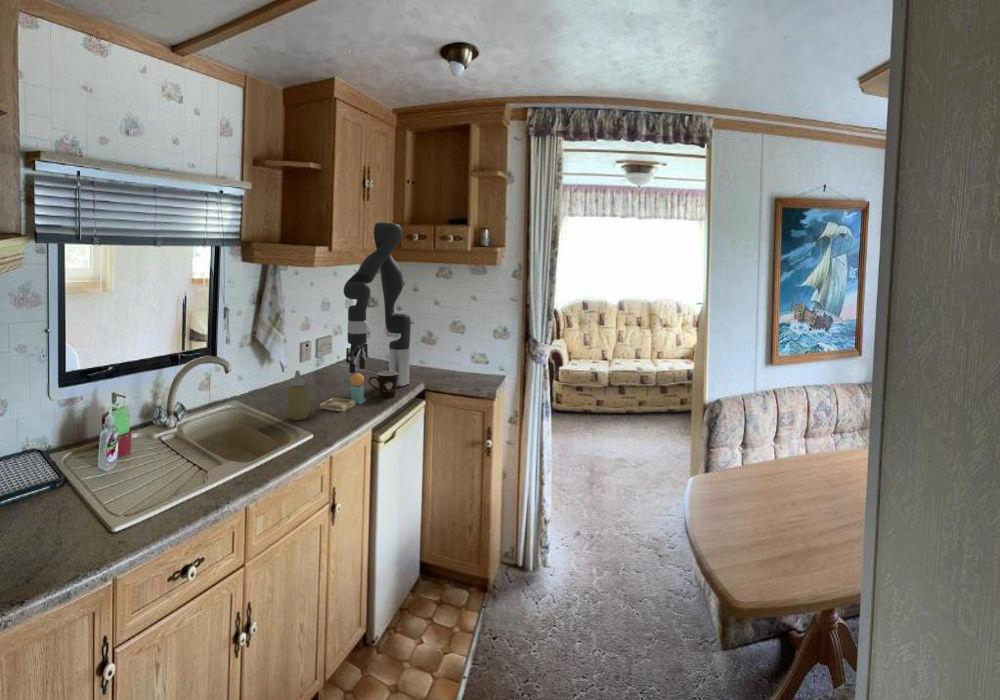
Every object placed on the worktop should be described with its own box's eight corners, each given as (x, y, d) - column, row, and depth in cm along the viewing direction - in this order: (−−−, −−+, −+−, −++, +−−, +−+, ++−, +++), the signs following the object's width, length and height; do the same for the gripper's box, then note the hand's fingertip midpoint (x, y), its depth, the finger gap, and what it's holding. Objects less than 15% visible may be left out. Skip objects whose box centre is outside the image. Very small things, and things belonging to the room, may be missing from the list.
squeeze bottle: (282, 419, 209) (280, 371, 206) (297, 413, 216) (296, 367, 213) (300, 422, 206) (298, 374, 203) (315, 416, 213) (313, 370, 210)
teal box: (354, 400, 238) (354, 383, 237) (365, 401, 237) (365, 384, 236) (349, 403, 233) (348, 386, 232) (360, 404, 232) (360, 387, 231)
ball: (354, 384, 237) (354, 371, 236) (366, 385, 236) (366, 372, 235) (348, 387, 232) (347, 374, 231) (360, 388, 231) (360, 375, 230)
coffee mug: (400, 394, 250) (400, 371, 248) (394, 399, 241) (394, 376, 240) (374, 392, 251) (374, 370, 249) (368, 397, 242) (367, 374, 241)
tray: (332, 402, 233) (332, 397, 233) (355, 404, 231) (355, 400, 231) (319, 409, 223) (319, 404, 223) (343, 411, 221) (343, 406, 221)
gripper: (356, 328, 237) (356, 366, 240) (339, 333, 224) (340, 373, 226) (373, 330, 236) (373, 368, 238) (357, 334, 222) (357, 375, 225)
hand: (357, 370), depth 232 cm, fingers open, 8 cm apart
